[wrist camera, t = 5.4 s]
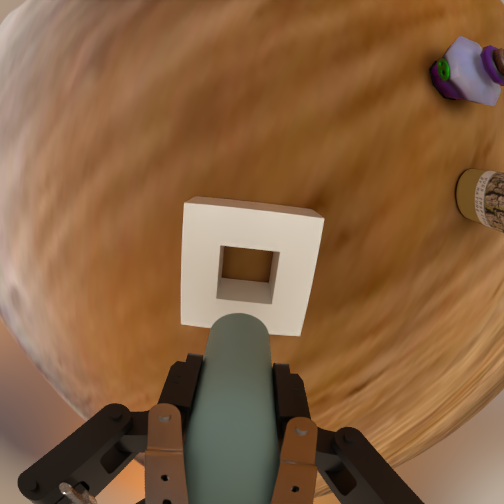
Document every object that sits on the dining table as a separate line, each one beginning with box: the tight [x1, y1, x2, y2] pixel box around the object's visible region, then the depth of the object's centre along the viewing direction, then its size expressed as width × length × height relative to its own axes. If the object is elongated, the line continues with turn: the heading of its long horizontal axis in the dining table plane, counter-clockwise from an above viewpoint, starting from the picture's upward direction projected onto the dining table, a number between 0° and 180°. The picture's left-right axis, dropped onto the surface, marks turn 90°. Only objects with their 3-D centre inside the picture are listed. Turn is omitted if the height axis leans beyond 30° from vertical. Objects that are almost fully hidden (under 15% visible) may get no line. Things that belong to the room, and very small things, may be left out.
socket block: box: [181, 196, 324, 336], centre depth 27 cm, size 12×12×5 cm
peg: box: [183, 313, 279, 504], centre depth 10 cm, size 4×4×12 cm
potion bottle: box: [429, 36, 504, 106], centre depth 17 cm, size 9×9×12 cm
